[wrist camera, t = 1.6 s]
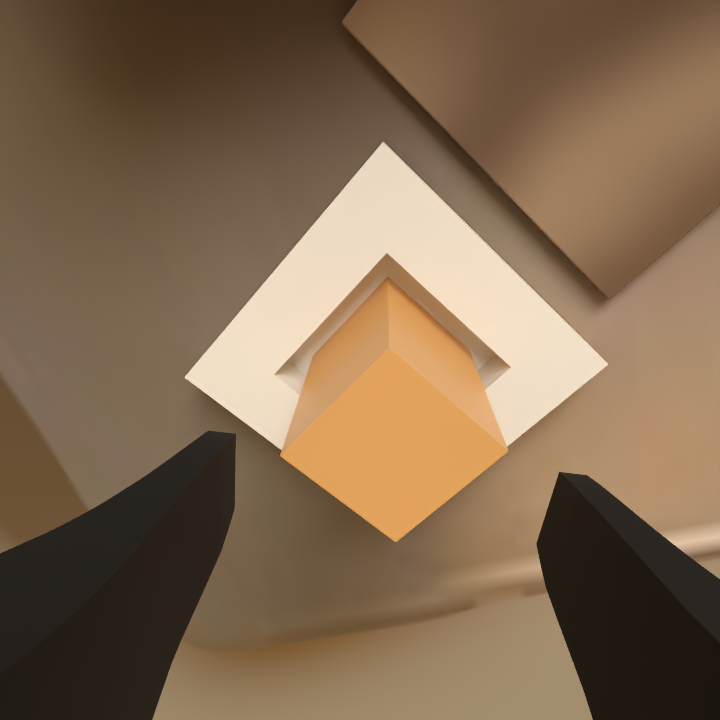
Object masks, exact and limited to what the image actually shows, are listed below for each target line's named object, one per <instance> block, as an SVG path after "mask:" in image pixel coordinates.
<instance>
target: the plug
mask: <svg viewBox="0 0 720 720" xmlns="http://www.w3.org/2000/svg"><path fill="white" fill-rule="evenodd" d="M507 452H508V448H507V446H506V443H505V441H504V438H503V435H502V433H501V430H500V428H499V425H498V423H497V420H496V417H495V415H494V412H493V410H492V407H491V405H490V402H489V399H488V397H487V394H486V392H485V389H484V387H483V384H482V381H481V379H480V376H479V374H478V371H477V369H476V366H475V363H474V361H473V358H472V356H471V353H470V351H469V349H468V348H467V347H465V346H464V345H463V344H462V343H461V342H460V341H459V340H458V339H457V338H455V337H454V336H453V335H452V334H451V333H450V332H449V331H448V330H447V329H446V328H444V327H443V326H442V325H441V324H440V323H439V322H438V321H437V320H436V319H435V318H433V317H432V316H431V315H430V314H429V313H428V312H427V311H426V310H425V309H424V308H422V307H421V306H420V305H419V304H418V303H417V302H416V301H415V300H414V299H412V298H411V297H410V296H409V295H408V294H407V293H406V292H405V291H404V290H403V289H401V288H400V287H399V286H398V285H397V284H396V283H395V282H394V281H393V280H392V279H390V278H389V277H387V278H386V279H385V280H384V281H383V282H382V283H381V284H380V285H379V286H378V287H377V288H376V289H375V290H374V291H373V292H372V294H371V295H370V296H369V297H368V298H367V299H366V300H365V301H364V302H363V303H362V304H361V305H360V306H359V307H358V308H357V309H356V310H355V311H354V313H353V314H352V315H351V316H350V317H349V318H348V319H347V320H346V321H345V322H344V323H343V324H342V325H341V326H340V327H339V328H338V329H337V331H336V332H335V333H334V334H333V335H332V336H331V337H330V338H329V339H328V340H327V341H326V342H325V343H324V344H323V345H322V346H321V347H320V349H319V350H318V351H317V352H316V353H315V354H314V355H313V357H312V360H311V363H310V366H309V369H308V372H307V375H306V378H305V381H304V384H303V388H302V391H301V394H300V397H299V400H298V403H297V406H296V409H295V412H294V415H293V418H292V421H291V424H290V427H289V430H288V433H287V436H286V439H285V442H284V445H283V448H282V451H281V454H280V456H281V457H282V458H284V459H285V460H286V461H288V462H289V463H290V464H292V465H293V466H294V467H296V468H297V469H298V470H300V471H301V472H302V473H304V474H305V475H306V476H308V477H309V478H310V479H312V480H313V481H314V482H316V483H317V484H318V485H320V486H321V487H322V488H324V489H325V490H326V491H328V492H329V493H330V494H332V495H333V496H334V497H336V498H337V499H338V500H340V501H341V502H343V503H344V504H345V505H347V506H348V507H349V508H351V509H352V510H353V511H355V512H356V513H357V514H359V515H360V516H361V517H363V518H364V519H365V520H367V521H368V522H369V523H371V524H372V525H373V526H375V527H376V528H377V529H379V530H380V531H381V532H383V533H384V534H385V535H387V536H388V537H389V538H391V539H392V540H393V541H395V542H397V541H398V540H399V539H400V538H402V537H403V536H404V535H405V534H407V533H408V532H409V531H410V530H412V529H413V528H414V527H415V526H417V525H418V524H419V523H420V522H421V521H423V520H424V519H425V518H426V517H428V516H429V515H430V514H431V513H433V512H434V511H435V510H436V509H438V508H439V507H440V506H441V505H442V504H444V503H445V502H446V501H447V500H449V499H450V498H451V497H452V496H454V495H455V494H456V493H457V492H459V491H460V490H461V489H462V488H464V487H465V486H466V485H467V484H468V483H470V482H471V481H472V480H473V479H475V478H476V477H477V476H478V475H480V474H481V473H482V472H483V471H485V470H486V469H487V468H488V467H489V466H491V465H492V464H493V463H494V462H496V461H497V460H498V459H499V458H501V457H502V456H503V455H504V454H506V453H507Z"/></svg>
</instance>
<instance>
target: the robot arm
mask: <svg viewBox="0 0 720 720" xmlns="http://www.w3.org/2000/svg"><path fill="white" fill-rule="evenodd" d="M235 448H236V434H232V433H223V432H215V431H207V432H206V433H204V434H203V435H202V436H200V437H199V438H197V439H196V440H195V441H193V442H192V443H191V444H189V445H188V446H187V447H185V448H184V449H182V450H181V451H180V452H178V453H177V454H176V455H174V456H173V457H172V458H170V459H169V460H167V461H166V462H165V463H163V464H162V465H160V466H159V467H158V468H156V469H155V470H153V471H152V472H150V473H149V474H148V475H146V476H145V477H143V478H142V479H140V480H139V481H137V482H135V483H134V484H132V485H131V486H129V487H128V488H126V489H124V490H123V491H121V492H120V493H118V494H116V495H115V496H113V497H112V498H110V499H109V500H107V501H105V502H104V503H102V504H100V505H99V506H97V507H95V508H93V509H92V510H90V511H88V512H86V513H84V514H83V515H81V516H79V517H77V518H75V519H73V520H71V521H69V522H67V523H65V524H63V525H61V526H60V527H58V528H56V529H54V530H52V531H50V532H48V533H46V534H43V535H41V536H39V537H36V538H34V539H32V540H30V541H27V542H25V543H23V544H21V545H18V546H16V547H14V548H12V549H9V550H7V551H5V552H3V553H1V554H0V720H152V719H153V716H154V713H155V710H156V707H157V704H158V701H159V698H160V695H161V692H162V689H163V686H164V683H165V681H166V678H167V675H168V672H169V669H170V666H171V663H172V661H173V659H174V656H175V654H176V651H177V649H178V646H179V644H180V642H181V639H182V637H183V635H184V633H185V630H186V628H187V626H188V624H189V622H190V619H191V617H192V615H193V613H194V611H195V608H196V606H197V604H198V602H199V600H200V597H201V595H202V593H203V591H204V588H205V586H206V584H207V582H208V580H209V577H210V575H211V573H212V571H213V568H214V566H215V564H216V562H217V559H218V557H219V555H220V552H221V550H222V547H223V544H224V541H225V538H226V535H227V532H228V528H229V525H230V522H231V518H232V515H233V512H234V508H235ZM537 548H538V553H539V558H540V563H541V568H542V572H543V577H544V581H545V585H546V589H547V591H548V594H549V597H550V600H551V603H552V606H553V608H554V611H555V614H556V617H557V620H558V622H559V625H560V628H561V630H562V633H563V636H564V638H565V641H566V644H567V647H568V649H569V652H570V655H571V658H572V660H573V663H574V665H575V668H576V671H577V674H578V676H579V679H580V682H581V684H582V687H583V690H584V693H585V696H586V699H587V702H588V705H589V708H590V712H591V715H592V718H593V720H720V579H719V578H717V577H716V576H714V575H713V574H712V573H710V572H709V571H708V570H706V569H705V568H704V567H702V566H701V565H700V564H698V563H697V562H696V561H694V560H693V559H692V558H690V557H689V556H688V555H686V554H685V553H684V552H682V551H681V550H680V549H679V548H677V547H676V546H675V545H673V544H672V543H671V542H670V541H668V540H667V539H666V538H665V537H663V536H662V535H661V534H660V533H658V532H657V531H656V530H655V529H653V528H652V527H651V526H650V525H649V524H647V523H646V522H645V521H644V520H642V519H641V518H640V517H639V516H638V515H636V514H635V513H634V512H633V511H632V510H630V509H629V508H628V507H627V506H625V505H624V504H623V503H622V502H621V501H619V500H618V499H617V498H616V497H615V496H613V495H612V494H611V493H610V492H608V491H607V490H606V489H605V488H603V487H602V486H601V485H600V484H598V483H597V482H596V481H594V480H593V479H591V478H590V477H589V476H587V475H580V474H572V473H563V472H559V475H558V478H557V481H556V484H555V487H554V490H553V493H552V497H551V500H550V503H549V506H548V509H547V512H546V515H545V519H544V522H543V525H542V528H541V531H540V534H539V537H538V541H537Z"/></svg>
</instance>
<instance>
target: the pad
mask: <svg viewBox="0 0 720 720" xmlns="http://www.w3.org/2000/svg"><path fill="white" fill-rule="evenodd" d="M342 24H343V26H344V27H345V28H346V29H347V30H348V31H349V32H350V33H351V34H352V35H353V37H354V38H355V39H356V40H357V41H358V42H359V43H360V44H361V45H362V46H363V47H364V48H365V49H366V50H367V51H368V52H369V53H370V54H371V55H372V56H373V57H374V58H375V59H376V60H377V61H378V62H379V63H380V64H381V65H382V66H383V68H384V69H385V70H386V71H387V72H388V73H389V74H390V75H391V76H392V77H393V78H394V79H395V80H396V81H397V82H398V83H399V84H400V85H401V86H402V87H403V88H404V89H405V90H406V91H407V92H408V93H409V94H410V95H411V96H412V97H413V99H414V100H415V101H416V102H417V103H418V104H419V105H420V106H421V107H422V108H423V109H424V110H425V111H426V112H427V113H428V114H429V115H430V116H431V117H432V118H433V119H434V120H435V121H436V122H437V123H438V124H439V125H440V126H441V127H442V128H443V130H444V131H445V132H446V133H447V134H448V135H449V136H450V137H451V138H452V139H453V140H454V141H455V142H456V143H457V144H458V145H459V146H460V147H461V148H462V149H463V150H464V151H465V152H466V153H467V154H468V155H469V156H470V157H471V158H472V159H473V161H474V162H475V163H476V164H477V165H478V166H479V167H480V168H481V169H482V170H483V171H484V172H485V173H486V174H487V175H488V176H489V177H490V178H491V179H492V180H493V181H494V182H495V183H496V184H497V185H498V186H499V187H500V188H501V189H502V190H503V191H504V193H505V194H506V195H507V196H508V197H509V198H510V199H511V200H512V201H513V202H514V203H515V204H516V205H517V206H518V207H519V208H520V209H521V210H522V211H523V212H524V213H525V214H526V215H527V216H528V217H529V218H530V219H531V220H532V221H533V222H534V224H535V225H536V226H537V227H538V228H539V229H540V230H541V231H542V232H543V233H544V234H545V235H546V236H547V237H548V238H549V239H550V240H551V241H552V242H553V243H554V244H555V245H556V246H557V247H558V248H559V249H560V250H561V251H562V252H563V253H564V255H565V256H566V257H567V258H568V259H569V260H570V261H571V262H572V263H573V264H574V265H575V266H576V267H577V268H578V269H579V270H580V271H581V272H582V273H583V274H584V275H585V276H586V277H587V278H588V279H589V280H590V281H591V282H592V283H593V284H594V286H595V287H596V288H597V289H598V290H599V291H600V292H601V293H602V294H603V295H605V296H606V297H607V298H609V299H611V298H612V297H613V296H614V295H615V294H616V293H617V292H619V291H620V290H621V289H622V288H623V287H624V286H626V285H627V284H628V283H629V282H630V281H631V280H633V279H634V278H635V277H636V276H637V275H638V274H640V273H641V272H642V271H643V270H644V269H645V268H646V267H648V266H649V265H650V264H651V263H652V262H653V261H655V260H656V259H657V258H658V257H659V256H660V255H662V254H663V253H664V252H665V251H666V250H667V249H669V248H670V247H671V246H672V245H673V244H674V243H675V242H677V241H678V240H679V239H680V238H681V237H682V236H684V235H685V234H686V233H687V232H688V231H689V230H691V229H692V228H693V227H694V226H695V225H696V224H698V223H699V222H700V221H701V220H702V219H703V218H704V217H706V216H707V215H708V214H709V213H710V212H711V211H713V210H714V209H715V208H716V207H717V206H718V205H720V0H357V1H356V3H355V4H354V5H353V7H352V8H351V10H350V11H349V12H348V14H347V15H346V16H345V18H344V19H343V20H342Z"/></svg>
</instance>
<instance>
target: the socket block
mask: <svg viewBox="0 0 720 720" xmlns="http://www.w3.org/2000/svg"><path fill="white" fill-rule="evenodd" d="M387 277H389V278H390V279H392V280H393V281H394V282H395V283H396V284H397V285H398V286H399V287H400V288H401V289H403V290H404V291H405V292H406V293H407V294H408V295H409V296H410V297H411V298H412V299H414V300H415V301H416V302H417V303H418V304H419V305H420V306H421V307H422V308H424V309H425V310H426V311H427V312H428V313H429V314H430V315H431V316H432V317H433V318H435V319H436V320H437V321H438V322H439V323H440V324H441V325H442V326H443V327H444V328H446V329H447V330H448V331H449V332H450V333H451V334H452V335H453V336H454V337H455V338H457V339H458V340H459V341H460V342H461V343H462V344H463V345H464V346H465V347H467V348H468V349H469V351H470V353H471V356H472V358H473V361H474V363H475V366H476V369H477V371H478V374H479V376H480V379H481V381H482V384H483V387H484V389H485V392H486V394H487V397H488V399H489V402H490V405H491V407H492V410H493V412H494V415H495V417H496V420H497V423H498V425H499V428H500V430H501V433H502V435H503V438H504V441H505V443H506V446H508V445H510V444H511V443H512V442H513V441H515V440H516V439H517V438H518V437H520V436H521V435H522V434H523V433H524V432H526V431H527V430H528V429H529V428H531V427H532V426H533V425H534V424H536V423H537V422H538V421H539V420H540V419H542V418H543V417H544V416H545V415H547V414H548V413H549V412H550V411H552V410H553V409H554V408H555V407H556V406H558V405H559V404H560V403H561V402H563V401H564V400H565V399H566V398H567V397H569V396H570V395H571V394H572V393H574V392H575V391H576V390H577V389H579V388H580V387H581V386H582V385H583V384H585V383H586V382H587V381H588V380H590V379H591V378H592V377H593V376H595V375H596V374H597V373H598V372H599V371H601V370H602V369H603V368H604V367H606V366H607V365H608V364H607V363H606V362H605V361H604V359H603V358H602V357H601V356H600V355H599V354H598V353H597V352H596V351H595V350H594V349H593V348H592V347H591V346H590V345H589V344H588V343H587V342H586V341H585V340H584V339H583V338H582V337H581V336H580V335H579V334H578V333H577V332H576V331H575V330H574V329H573V328H572V327H571V326H570V325H569V324H568V323H567V322H566V321H565V320H564V319H563V318H562V317H561V316H560V315H559V314H558V313H557V312H556V311H555V310H554V309H553V308H552V307H551V306H550V305H549V304H548V303H547V302H546V301H545V300H544V299H542V298H541V297H540V296H539V295H538V294H537V293H536V292H535V291H534V290H533V289H532V288H531V287H530V286H529V285H528V284H527V283H526V282H525V281H524V280H523V279H522V278H521V277H520V276H519V275H518V274H517V273H516V272H515V271H514V270H513V269H512V268H511V267H510V266H509V265H508V264H507V263H506V262H505V261H504V260H503V259H502V258H501V257H500V256H499V255H498V254H497V253H496V252H495V251H494V250H493V249H492V248H491V247H490V246H489V245H488V244H487V243H486V242H485V241H484V240H483V239H482V238H481V237H480V236H479V235H478V234H477V233H476V232H475V231H474V230H473V229H472V228H471V227H470V226H469V225H468V224H467V223H466V222H465V221H464V220H463V219H461V218H460V217H459V216H458V215H457V214H456V213H455V212H454V211H453V210H452V209H451V208H450V207H449V206H448V205H447V204H446V203H445V202H444V201H443V200H442V199H441V198H440V197H439V196H438V195H437V194H436V193H435V192H434V191H433V190H432V189H431V188H430V187H429V186H428V185H427V184H426V183H425V182H424V181H423V180H422V179H421V178H420V177H419V176H418V175H417V174H416V173H415V172H414V171H413V170H412V169H411V168H410V167H409V166H408V165H407V164H406V163H405V162H404V161H403V160H402V159H401V158H400V157H399V156H398V155H397V154H396V153H395V152H394V151H393V150H392V149H391V148H390V147H389V146H388V145H387V144H386V143H385V142H384V141H383V142H382V143H381V145H380V146H379V147H378V148H377V149H376V151H375V152H374V153H373V154H372V155H371V157H370V158H369V159H368V160H367V161H366V162H365V164H364V165H363V166H362V167H361V168H360V170H359V171H358V172H357V173H356V174H355V175H354V177H353V178H352V179H351V180H350V181H349V183H348V184H347V185H346V186H345V187H344V189H343V190H342V191H341V192H340V193H339V194H338V196H337V197H336V198H335V199H334V200H333V202H332V203H331V204H330V205H329V206H328V208H327V209H326V210H325V211H324V212H323V213H322V215H321V216H320V217H319V218H318V219H317V221H316V222H315V223H314V224H313V225H312V226H311V228H310V229H309V230H308V231H307V232H306V234H305V235H304V236H303V237H302V238H301V240H300V241H299V242H298V243H297V244H296V245H295V247H294V248H293V249H292V250H291V251H290V253H289V254H288V255H287V256H286V257H285V259H284V260H283V261H282V262H281V263H280V264H279V266H278V267H277V268H276V269H275V270H274V272H273V273H272V274H271V275H270V276H269V277H268V279H267V280H266V281H265V282H264V283H263V285H262V286H261V287H260V288H259V289H258V291H257V292H256V293H255V294H254V295H253V296H252V298H251V299H250V300H249V301H248V302H247V304H246V305H245V306H244V307H243V308H242V310H241V311H240V312H239V313H238V314H237V315H236V317H235V318H234V319H233V320H232V321H231V323H230V324H229V325H228V326H227V327H226V329H225V330H224V331H223V332H222V333H221V334H220V336H219V337H218V338H217V339H216V340H215V342H214V343H213V344H212V345H211V346H210V347H209V349H208V350H207V351H206V352H205V353H204V355H203V356H202V357H201V358H200V359H199V361H198V362H197V363H196V364H195V365H194V367H193V368H192V369H191V370H190V371H189V373H188V374H187V375H186V376H185V378H186V379H187V380H189V381H190V382H191V383H193V384H194V385H195V386H197V387H198V388H199V389H201V390H202V391H203V392H205V393H206V394H207V395H209V396H210V397H211V398H213V399H214V400H215V401H217V402H218V403H219V404H221V405H222V406H223V407H225V408H226V409H227V410H229V411H230V412H231V413H233V414H234V415H235V416H237V417H238V418H239V419H241V420H242V421H243V422H245V423H246V424H247V425H249V426H250V427H251V428H253V429H254V430H255V431H257V432H258V433H259V434H261V435H262V436H263V437H265V438H266V439H267V440H269V441H270V442H271V443H273V444H274V445H275V446H277V447H278V448H279V449H281V450H282V448H283V445H284V442H285V439H286V436H287V433H288V430H289V427H290V424H291V421H292V418H293V415H294V412H295V409H296V406H297V403H298V400H299V397H300V394H301V391H302V388H303V384H304V381H305V378H306V375H307V372H308V369H309V366H310V363H311V360H312V357H313V355H314V354H315V353H316V352H317V351H318V350H319V349H320V347H321V346H322V345H323V344H324V343H325V342H326V341H327V340H328V339H329V338H330V337H331V336H332V335H333V334H334V333H335V332H336V331H337V329H338V328H339V327H340V326H341V325H342V324H343V323H344V322H345V321H346V320H347V319H348V318H349V317H350V316H351V315H352V314H353V313H354V311H355V310H356V309H357V308H358V307H359V306H360V305H361V304H362V303H363V302H364V301H365V300H366V299H367V298H368V297H369V296H370V295H371V294H372V292H373V291H374V290H375V289H376V288H377V287H378V286H379V285H380V284H381V283H382V282H383V281H384V280H385V279H386V278H387Z"/></svg>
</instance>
